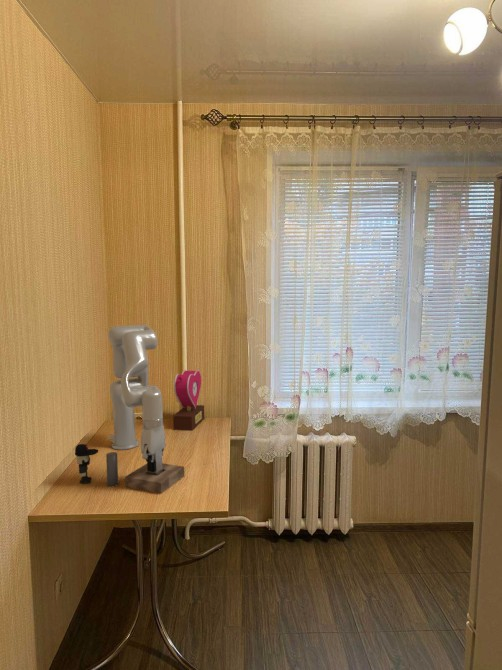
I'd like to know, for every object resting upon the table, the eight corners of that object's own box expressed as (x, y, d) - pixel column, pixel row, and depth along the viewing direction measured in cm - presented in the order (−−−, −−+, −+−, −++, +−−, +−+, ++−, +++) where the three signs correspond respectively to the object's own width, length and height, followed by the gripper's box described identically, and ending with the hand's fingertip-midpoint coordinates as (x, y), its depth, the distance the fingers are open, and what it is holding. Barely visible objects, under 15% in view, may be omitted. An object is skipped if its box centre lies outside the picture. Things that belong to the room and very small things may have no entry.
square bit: (148, 479, 180) (146, 448, 178) (154, 475, 183) (152, 445, 182) (156, 480, 178) (155, 450, 177) (162, 476, 182) (161, 446, 180)
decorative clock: (190, 432, 239) (188, 374, 235) (171, 431, 241) (168, 374, 237) (204, 418, 263) (203, 365, 259) (187, 417, 265) (185, 365, 262)
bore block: (125, 486, 177) (125, 476, 176) (150, 470, 191) (150, 461, 191) (161, 493, 170) (161, 483, 170) (184, 476, 185) (184, 466, 185)
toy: (99, 484, 180) (96, 446, 178) (75, 486, 178) (72, 448, 176) (100, 476, 187) (98, 439, 185) (78, 478, 185) (75, 441, 183)
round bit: (105, 485, 178) (103, 455, 176) (111, 481, 182) (110, 451, 180) (114, 487, 177) (112, 456, 175) (120, 483, 180) (119, 453, 179)
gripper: (157, 415, 187) (159, 459, 190) (131, 428, 172) (133, 476, 174) (173, 417, 184) (175, 462, 187) (148, 430, 169) (150, 479, 171)
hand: (155, 468), depth 180 cm, fingers closed on square bit, 4 cm apart
